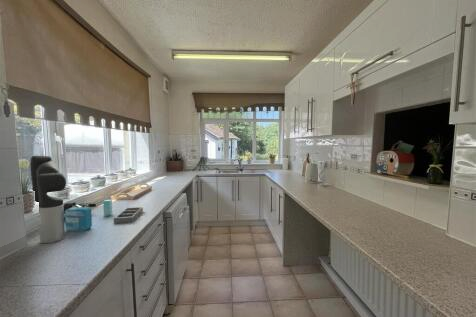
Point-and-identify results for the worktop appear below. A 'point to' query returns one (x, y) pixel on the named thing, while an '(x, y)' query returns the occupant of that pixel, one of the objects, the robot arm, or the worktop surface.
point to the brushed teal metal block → (107, 207)
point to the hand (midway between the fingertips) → (92, 206)
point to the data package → (78, 219)
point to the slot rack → (128, 215)
